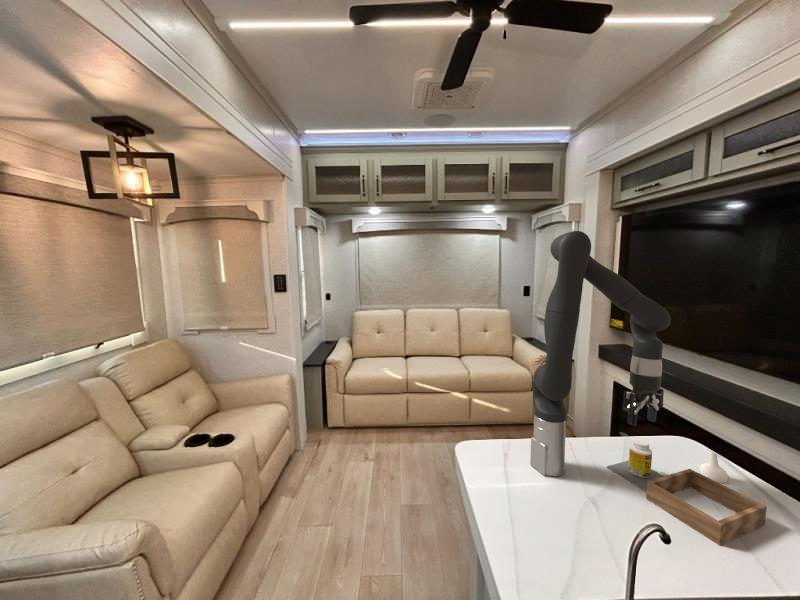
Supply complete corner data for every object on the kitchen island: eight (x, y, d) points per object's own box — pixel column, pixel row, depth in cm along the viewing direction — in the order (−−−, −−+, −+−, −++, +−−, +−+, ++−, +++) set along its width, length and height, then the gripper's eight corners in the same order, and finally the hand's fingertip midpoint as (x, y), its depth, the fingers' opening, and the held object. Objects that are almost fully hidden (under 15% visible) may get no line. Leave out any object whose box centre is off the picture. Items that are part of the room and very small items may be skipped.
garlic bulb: (731, 487, 92) (737, 462, 91) (704, 480, 95) (709, 456, 94) (719, 475, 98) (724, 451, 97) (694, 468, 100) (698, 445, 100)
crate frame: (719, 545, 72) (721, 525, 72) (645, 498, 87) (646, 481, 87) (764, 525, 78) (766, 506, 77) (688, 484, 93) (689, 468, 92)
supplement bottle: (646, 481, 94) (648, 448, 93) (625, 471, 99) (626, 440, 98) (653, 474, 97) (655, 443, 96) (632, 465, 102) (634, 435, 101)
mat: (645, 491, 90) (645, 490, 90) (606, 467, 101) (606, 466, 101) (673, 482, 94) (674, 481, 94) (633, 460, 105) (633, 459, 105)
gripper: (648, 366, 101) (644, 414, 102) (616, 369, 96) (613, 420, 98) (675, 373, 94) (671, 425, 95) (642, 377, 89) (637, 432, 91)
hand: (641, 422), depth 96 cm, fingers open, 8 cm apart
